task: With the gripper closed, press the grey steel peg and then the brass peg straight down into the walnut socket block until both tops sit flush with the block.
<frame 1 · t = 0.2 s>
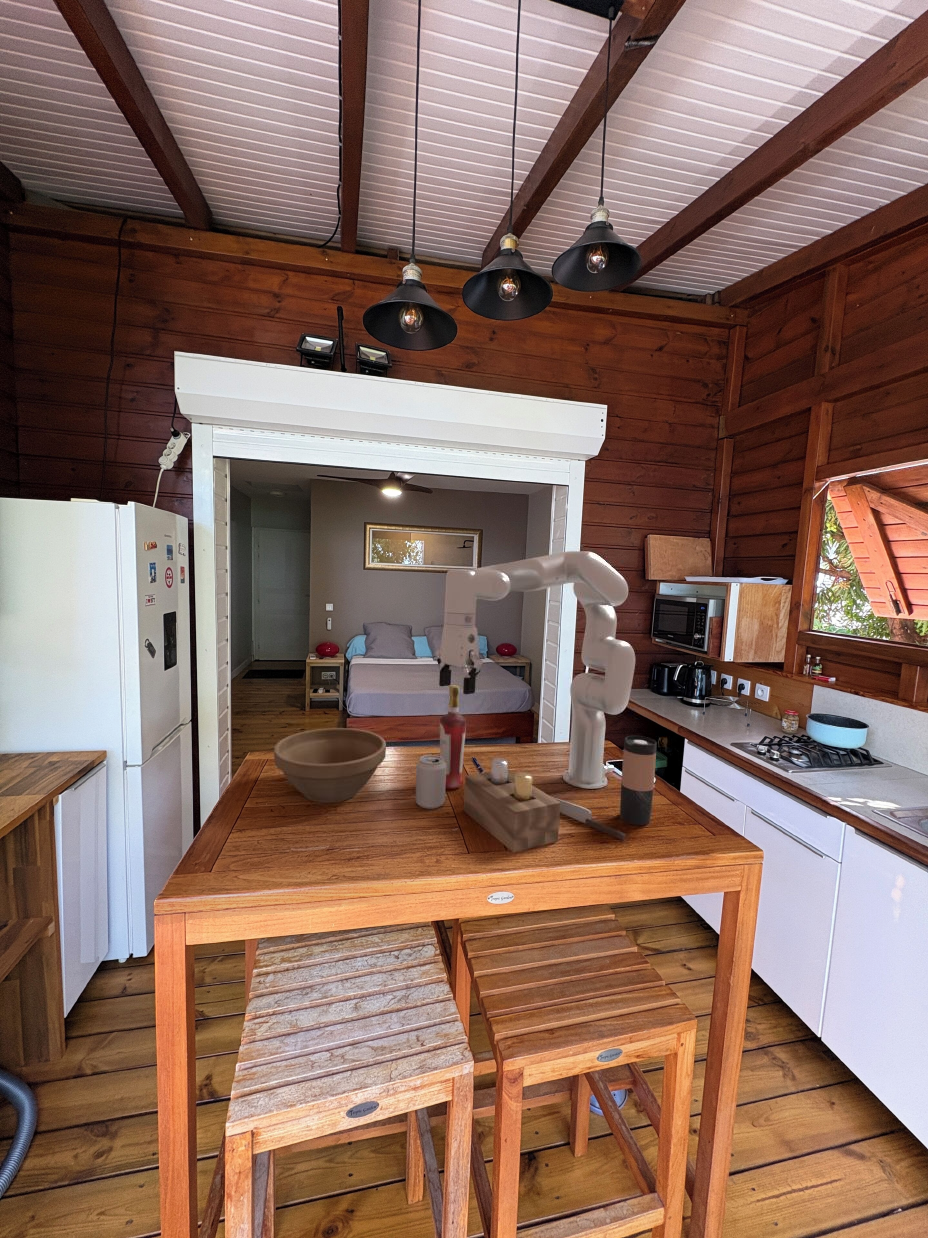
hand: (456, 689, 132), 30 cm above the table, fingers open, 9 cm apart
can: (430, 804, 137), on the table
kitchen knife: (569, 818, 134), on the table
liquor: (450, 786, 149), on the table
steel peg: (499, 777, 131), point 10 cm above the table, slide at 5.0 cm
brass peg: (522, 793, 122), point 10 cm above the table, slide at 5.0 cm
travel mug: (634, 819, 134), on the table
brown mixing bowl: (330, 792, 142), on the table
socket block: (508, 825, 127), on the table
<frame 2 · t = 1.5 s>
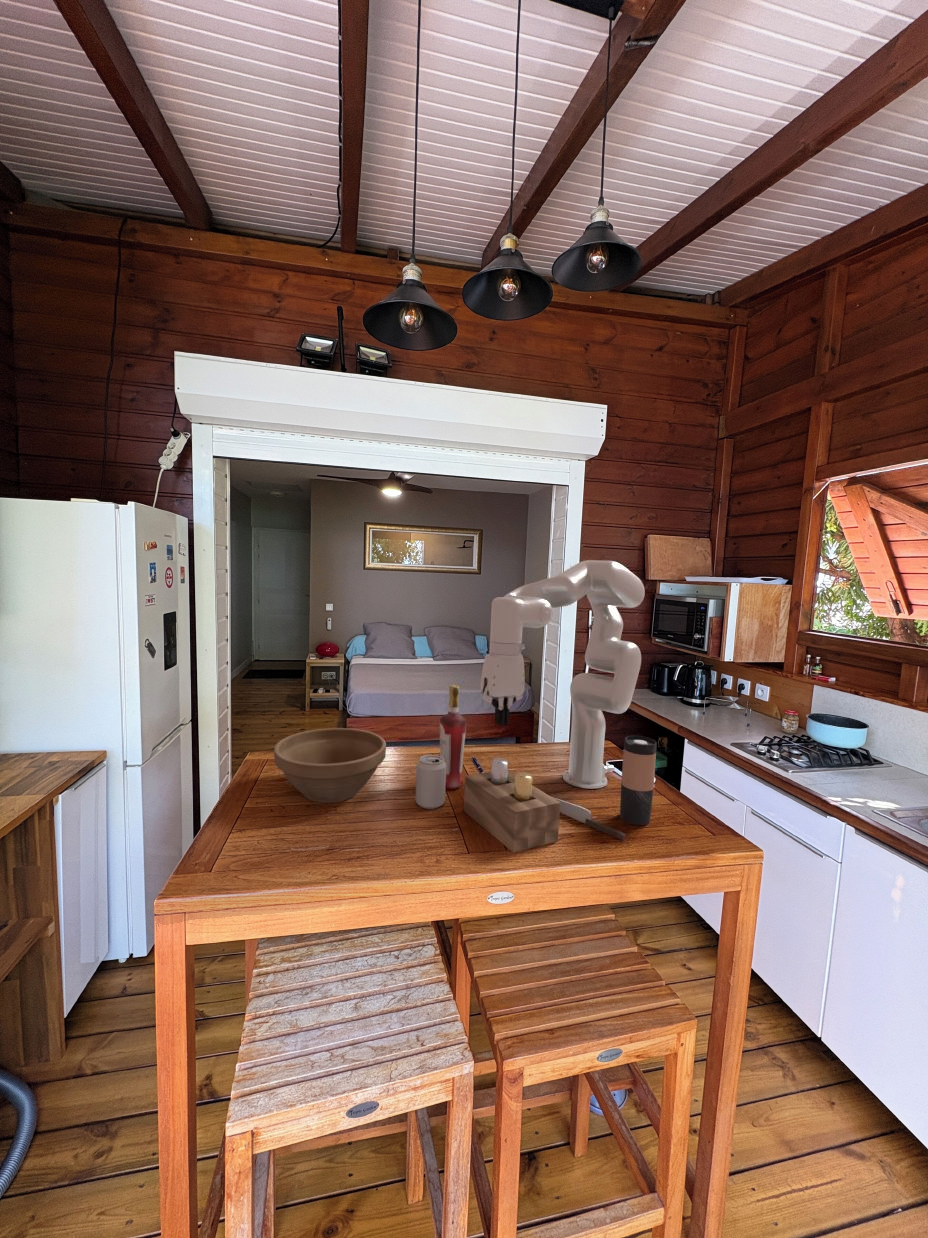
hand: (501, 724, 130), 23 cm above the table, fingers closed
nothing on the table moved.
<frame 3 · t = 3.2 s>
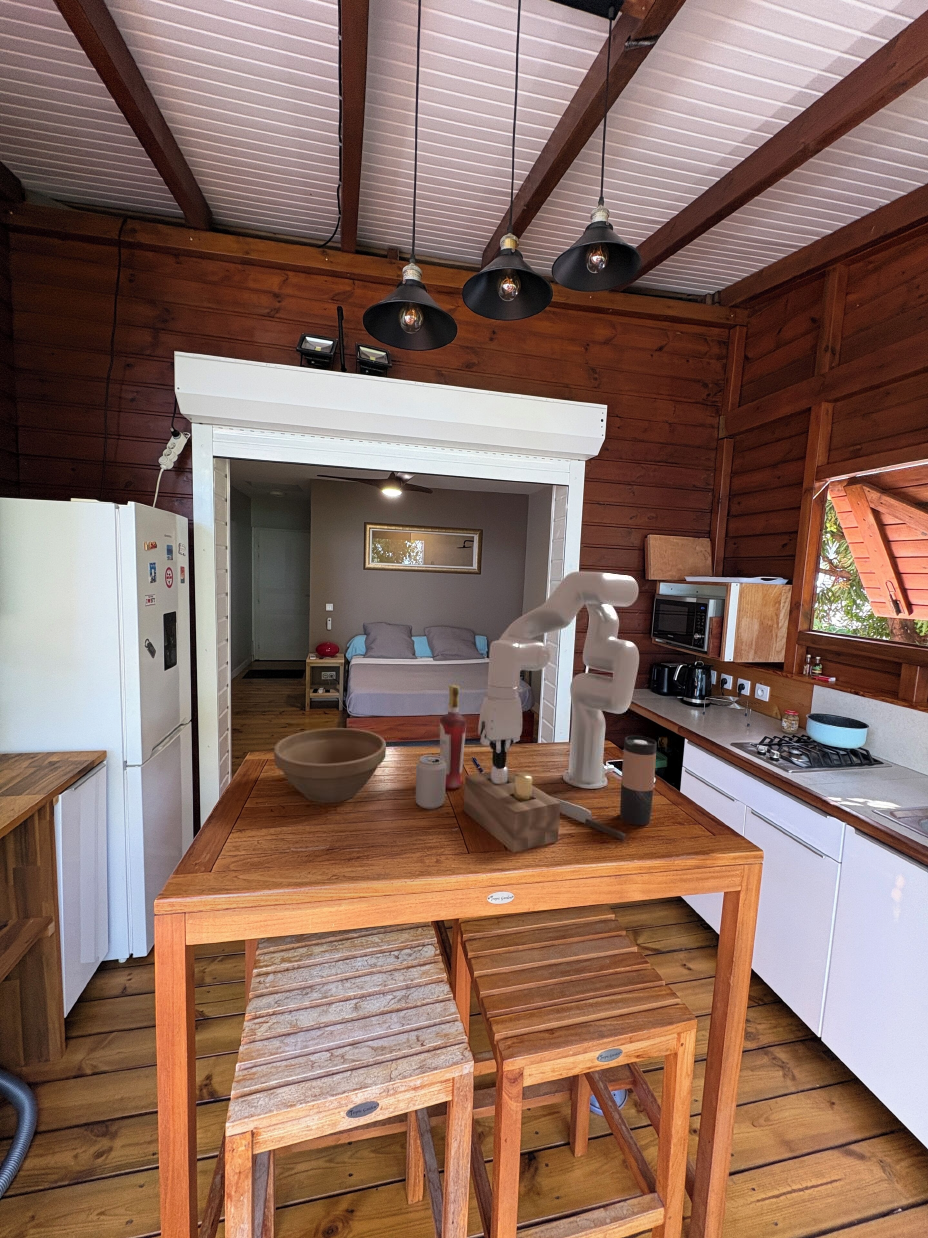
hand: (498, 766, 130), 13 cm above the table, fingers closed
steel peg: (498, 783, 131), point 8 cm above the table, slide at 3.6 cm, touching gripper
everything else where it was.
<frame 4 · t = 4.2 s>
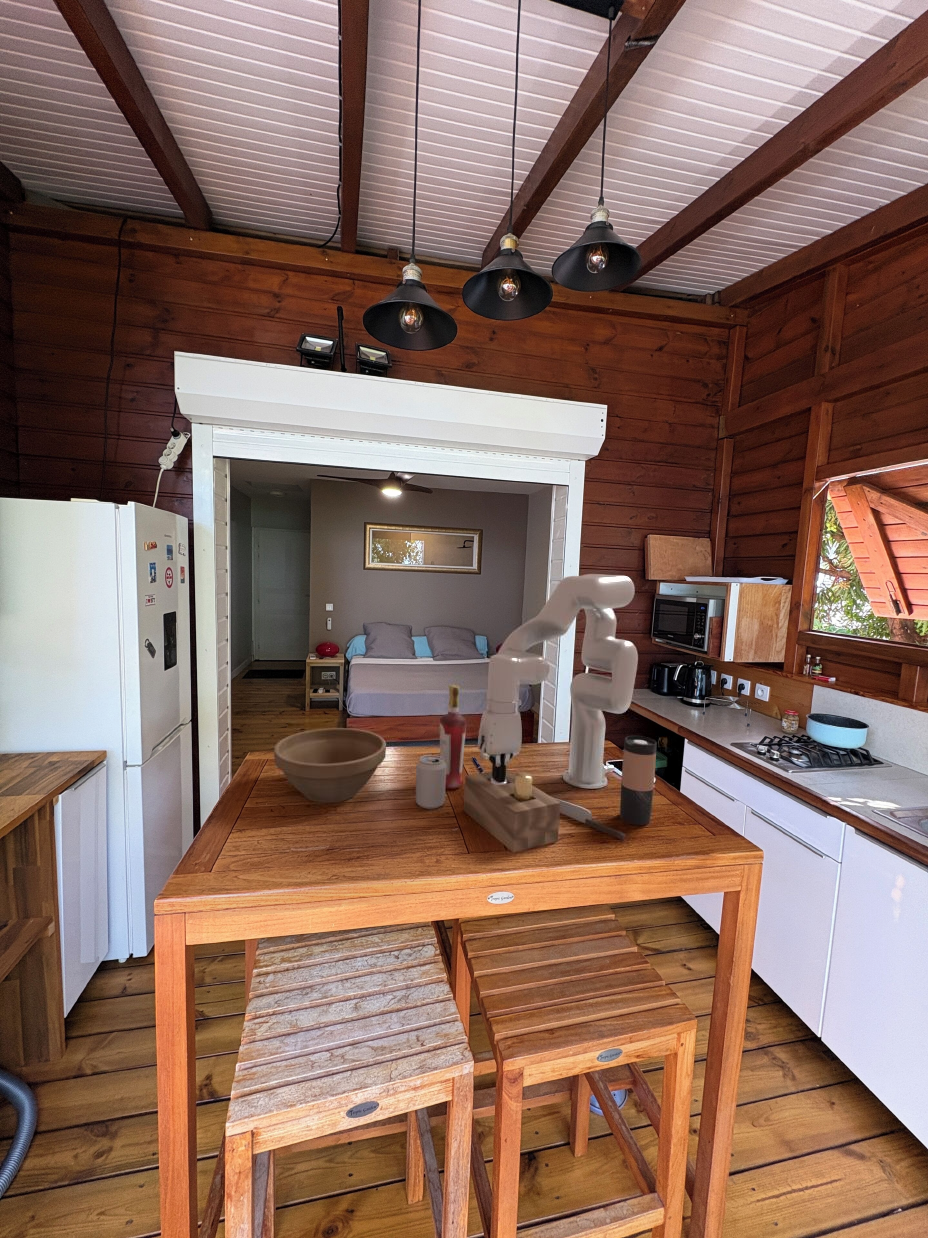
hand: (498, 780, 131), 9 cm above the table, fingers closed
steel peg: (498, 797, 131), point 5 cm above the table, slide at 0.2 cm, touching gripper
everything else where it was.
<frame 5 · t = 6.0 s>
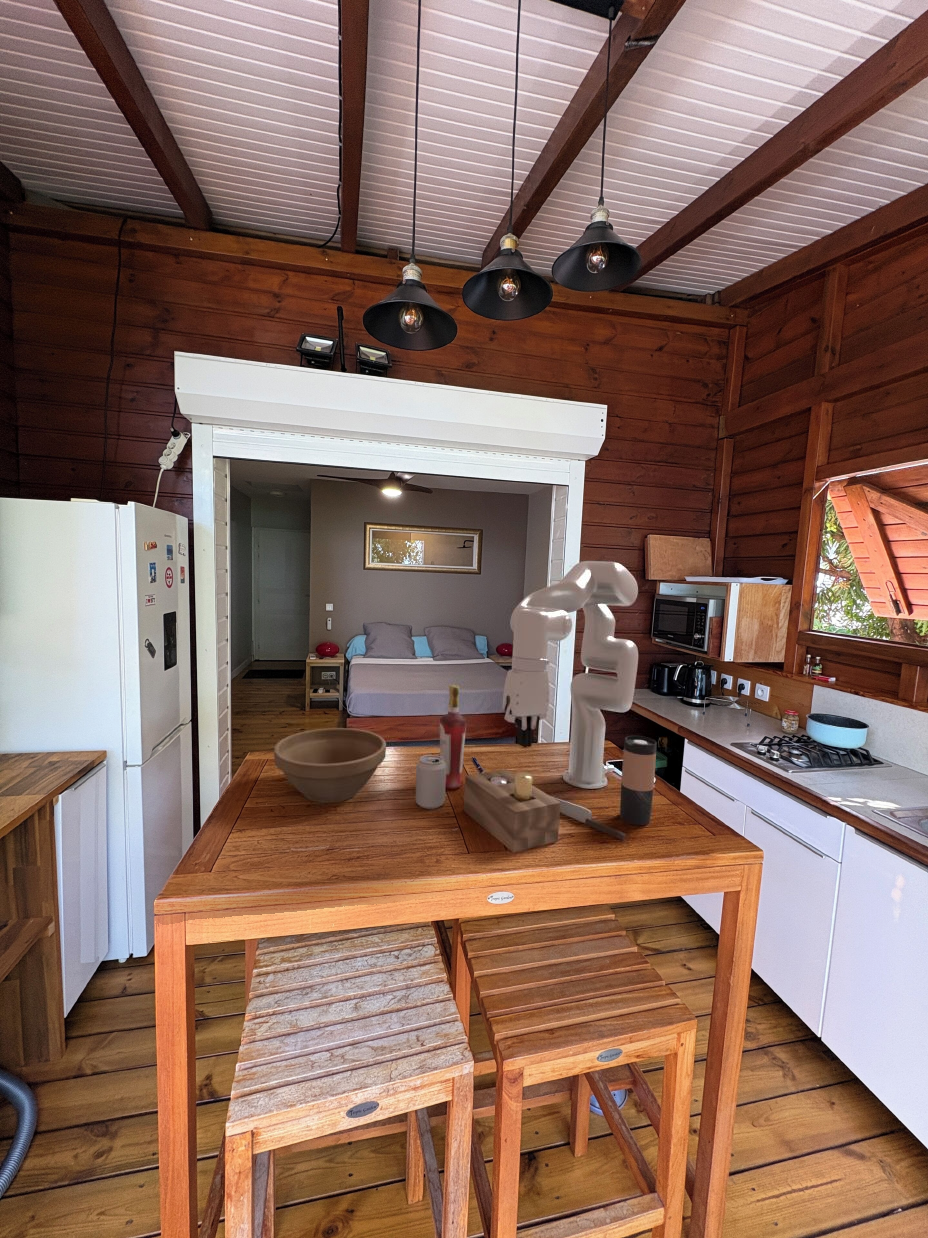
hand: (524, 745, 121), 21 cm above the table, fingers closed
steel peg: (498, 797, 131), point 5 cm above the table, slide at 0.2 cm
everything else where it was.
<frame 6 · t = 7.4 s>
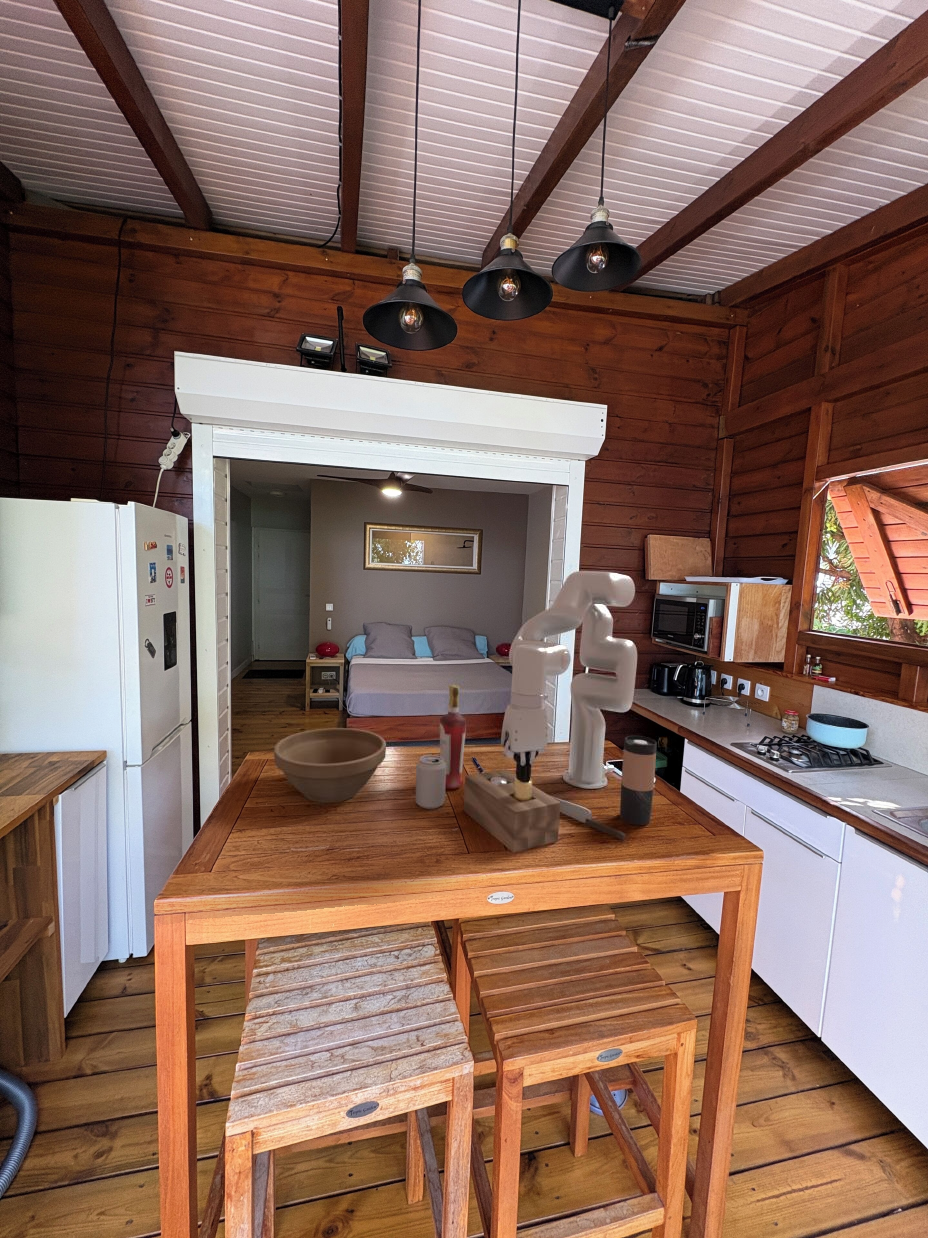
hand: (523, 780, 122), 13 cm above the table, fingers closed
brass peg: (522, 798, 122), point 9 cm above the table, slide at 3.9 cm, touching gripper
everything else where it was.
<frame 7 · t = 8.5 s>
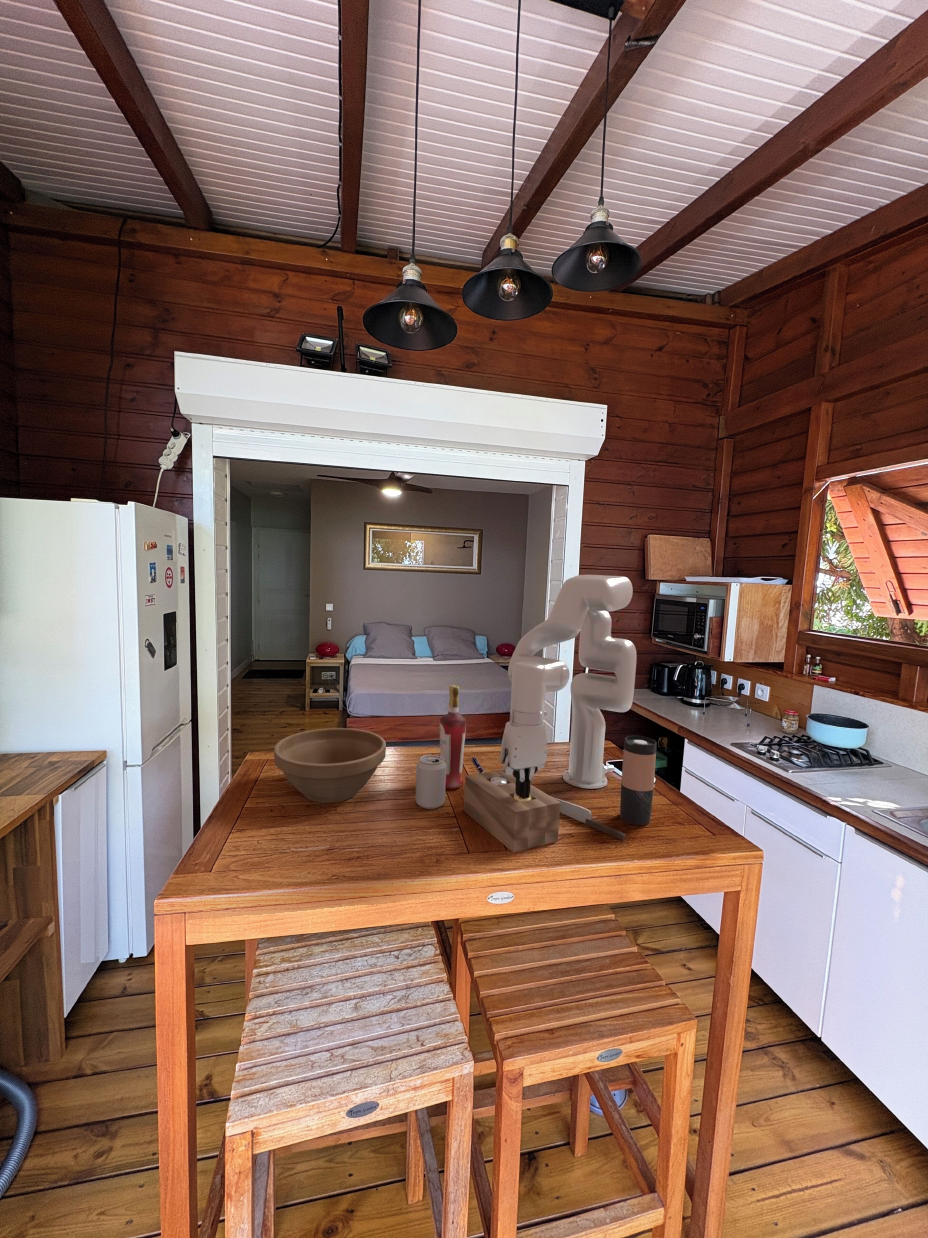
hand: (522, 796, 122), 9 cm above the table, fingers closed
brass peg: (521, 814, 123), point 5 cm above the table, slide at 0.2 cm, touching gripper
everything else where it was.
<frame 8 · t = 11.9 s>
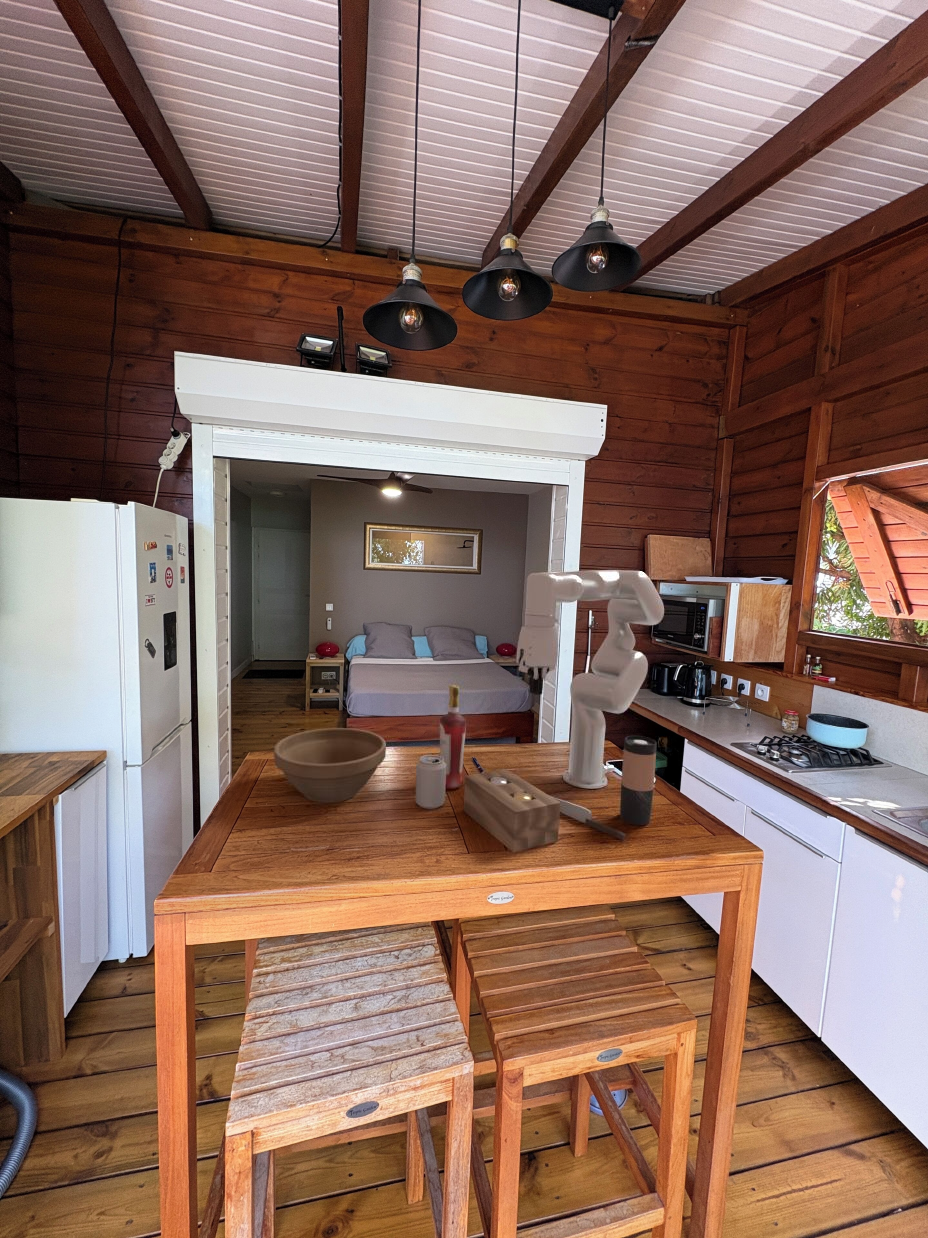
hand: (535, 693, 138), 29 cm above the table, fingers closed
brass peg: (521, 814, 123), point 5 cm above the table, slide at 0.2 cm
everything else where it was.
at the end: steel peg slide at 0.2 cm; brass peg slide at 0.2 cm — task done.
